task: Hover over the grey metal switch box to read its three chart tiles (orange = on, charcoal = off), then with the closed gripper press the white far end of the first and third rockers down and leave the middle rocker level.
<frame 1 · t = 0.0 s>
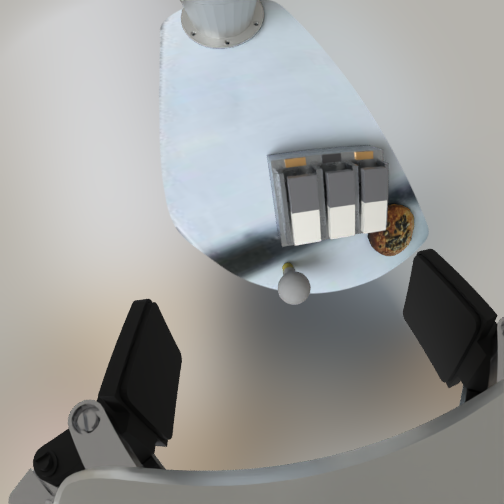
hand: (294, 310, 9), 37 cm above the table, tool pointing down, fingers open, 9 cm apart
rocker a: (304, 209, 38), point 8 cm above the table, hinge at 0.0°
rocker c: (374, 200, 38), point 8 cm above the table, hinge at 0.0°
switch box: (324, 188, 45), on the table
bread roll: (390, 228, 50), on the table
rocker b: (341, 204, 38), point 8 cm above the table, hinge at 0.0°
light bulb: (286, 265, 52), on the table
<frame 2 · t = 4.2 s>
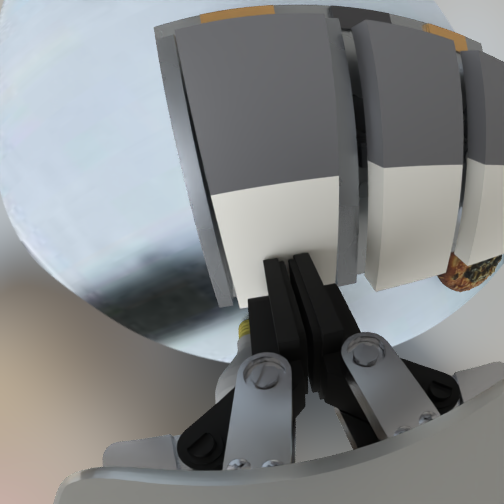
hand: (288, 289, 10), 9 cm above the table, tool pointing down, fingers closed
rocker a: (272, 175, 8), point 8 cm above the table, hinge at 7.5°, touching gripper
rocker c: (496, 161, 8), point 8 cm above the table, hinge at 0.0°
switch box: (340, 134, 15), on the table
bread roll: (467, 235, 20), on the table
rocker b: (417, 161, 8), point 8 cm above the table, hinge at 0.0°
light bulb: (250, 321, 23), on the table
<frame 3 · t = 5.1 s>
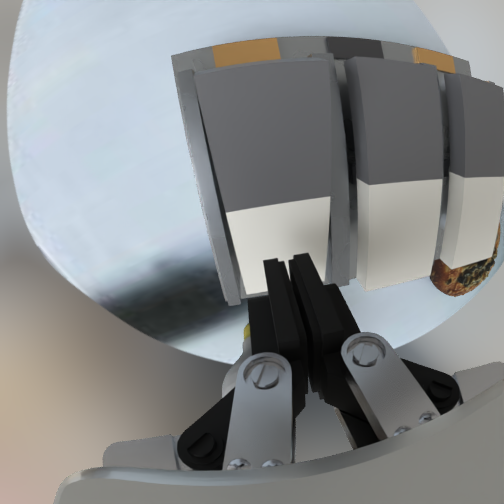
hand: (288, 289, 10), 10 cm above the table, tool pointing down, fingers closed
rocker a: (276, 193, 10), point 8 cm above the table, hinge at 17.3°
rocker c: (478, 173, 10), point 8 cm above the table, hinge at 0.0°
switch box: (337, 151, 17), on the table
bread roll: (461, 242, 22), on the table
rocker b: (400, 177, 10), point 8 cm above the table, hinge at 0.0°
light bulb: (254, 324, 24), on the table
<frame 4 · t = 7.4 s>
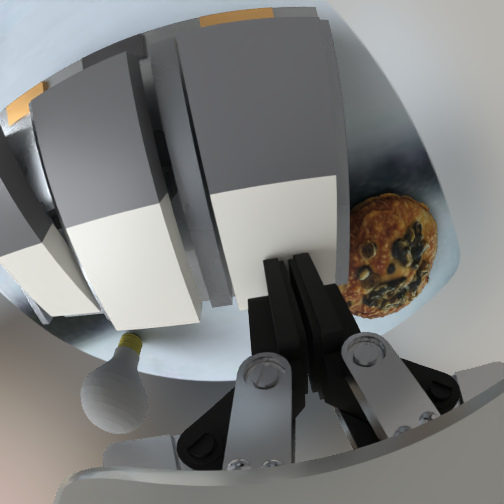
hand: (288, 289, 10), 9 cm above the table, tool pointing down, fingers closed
rocker a: (22, 240, 9), point 8 cm above the table, hinge at 17.3°
rocker c: (271, 176, 9), point 8 cm above the table, hinge at 4.9°, touching gripper
switch box: (165, 162, 16), on the table
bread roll: (378, 253, 21), on the table
rocker b: (114, 209, 9), point 8 cm above the table, hinge at 0.0°
light bulb: (133, 334, 23), on the table
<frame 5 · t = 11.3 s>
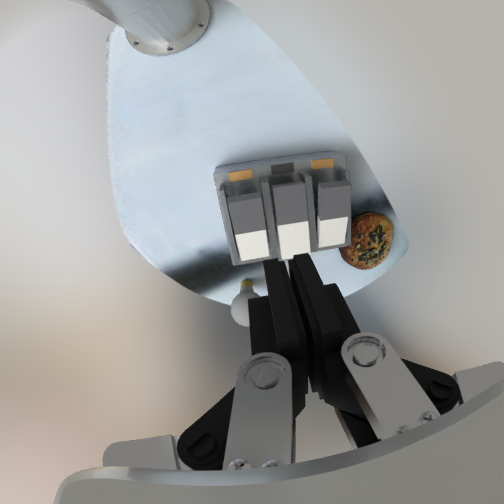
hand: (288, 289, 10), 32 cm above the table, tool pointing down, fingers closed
rocker a: (249, 228, 35), point 8 cm above the table, hinge at 17.3°
rocker c: (332, 215, 35), point 8 cm above the table, hinge at 17.4°
switch box: (282, 201, 42), on the table
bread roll: (365, 239, 47), on the table
rocker b: (292, 221, 35), point 8 cm above the table, hinge at 0.0°
light bulb: (246, 282, 49), on the table
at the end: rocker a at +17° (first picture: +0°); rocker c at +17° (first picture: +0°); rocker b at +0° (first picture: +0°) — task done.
